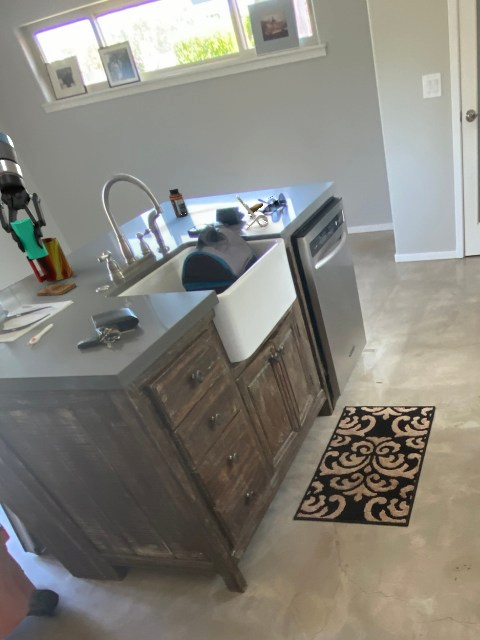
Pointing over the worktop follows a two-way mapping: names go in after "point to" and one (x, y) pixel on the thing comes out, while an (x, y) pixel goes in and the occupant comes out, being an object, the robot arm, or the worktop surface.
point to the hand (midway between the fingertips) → (31, 248)
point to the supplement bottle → (178, 202)
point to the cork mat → (56, 289)
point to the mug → (52, 262)
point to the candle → (28, 238)
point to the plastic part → (254, 216)
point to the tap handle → (256, 207)
